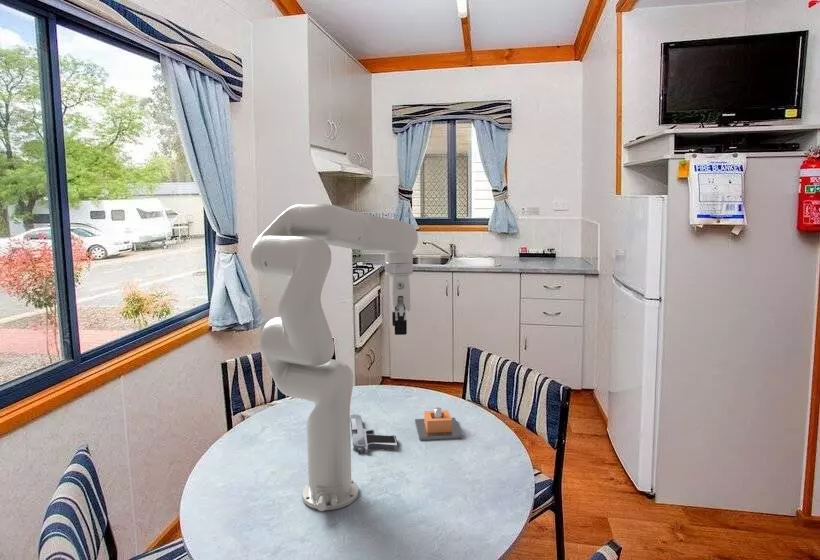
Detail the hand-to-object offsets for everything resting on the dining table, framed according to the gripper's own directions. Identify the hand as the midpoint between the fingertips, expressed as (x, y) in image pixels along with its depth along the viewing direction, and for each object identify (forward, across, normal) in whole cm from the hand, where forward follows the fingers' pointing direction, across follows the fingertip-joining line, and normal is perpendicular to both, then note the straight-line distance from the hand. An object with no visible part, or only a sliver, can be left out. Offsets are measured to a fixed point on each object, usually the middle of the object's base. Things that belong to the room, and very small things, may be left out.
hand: (399, 329), depth 146 cm
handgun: (+31, 0, +8) cm, 32 cm away
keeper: (+30, +1, -11) cm, 32 cm away
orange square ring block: (+29, +1, -11) cm, 31 cm away
